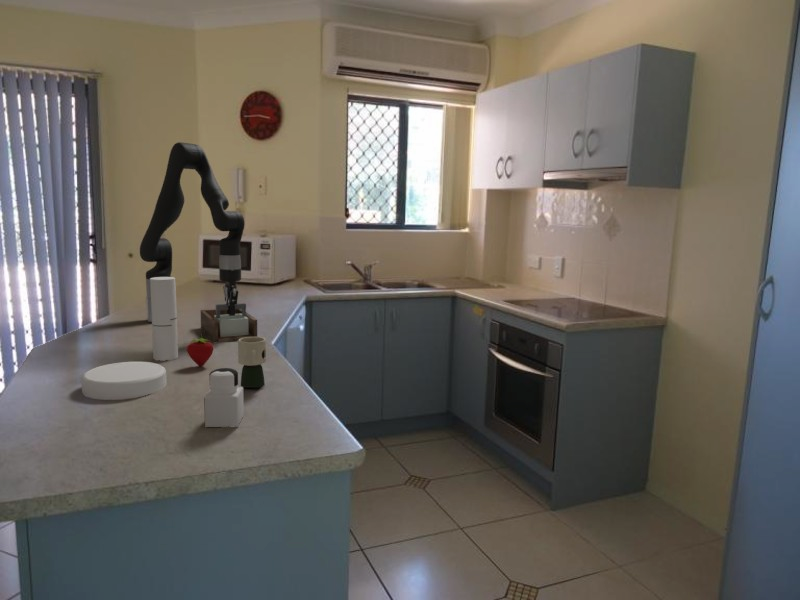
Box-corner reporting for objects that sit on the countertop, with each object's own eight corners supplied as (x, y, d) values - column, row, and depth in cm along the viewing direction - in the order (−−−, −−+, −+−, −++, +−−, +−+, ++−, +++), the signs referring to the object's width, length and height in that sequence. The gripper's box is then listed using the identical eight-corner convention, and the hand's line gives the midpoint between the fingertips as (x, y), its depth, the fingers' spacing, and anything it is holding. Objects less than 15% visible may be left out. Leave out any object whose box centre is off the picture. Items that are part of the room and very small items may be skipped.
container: (108, 375, 160) (107, 359, 159) (179, 378, 159) (178, 362, 158) (64, 399, 140) (63, 381, 139) (145, 402, 139) (144, 384, 139)
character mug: (268, 392, 149) (267, 343, 147) (239, 394, 146) (239, 345, 144) (264, 379, 159) (264, 334, 157) (238, 381, 157) (237, 335, 155)
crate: (219, 337, 202) (219, 307, 200) (214, 331, 210) (213, 302, 209) (249, 334, 207) (248, 305, 205) (242, 329, 215) (241, 301, 214)
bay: (214, 342, 199) (214, 323, 197) (201, 327, 221) (200, 310, 220) (257, 338, 206) (257, 319, 205) (240, 324, 228) (239, 307, 227)
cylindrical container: (183, 356, 180) (180, 278, 176) (165, 361, 173) (162, 280, 169) (166, 353, 183) (163, 276, 179) (148, 358, 176) (144, 278, 172)
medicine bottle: (212, 416, 131) (211, 365, 129) (244, 416, 132) (243, 365, 130) (204, 428, 124) (203, 375, 122) (237, 427, 125) (237, 375, 123)
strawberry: (187, 364, 171) (186, 332, 170) (213, 362, 174) (212, 330, 172) (187, 370, 166) (186, 336, 164) (214, 368, 168) (213, 335, 167)
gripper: (215, 265, 209) (216, 312, 212) (223, 269, 197) (224, 319, 200) (236, 265, 212) (237, 310, 215) (245, 269, 200) (246, 317, 203)
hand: (231, 314), depth 207 cm, fingers closed on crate, 2 cm apart
